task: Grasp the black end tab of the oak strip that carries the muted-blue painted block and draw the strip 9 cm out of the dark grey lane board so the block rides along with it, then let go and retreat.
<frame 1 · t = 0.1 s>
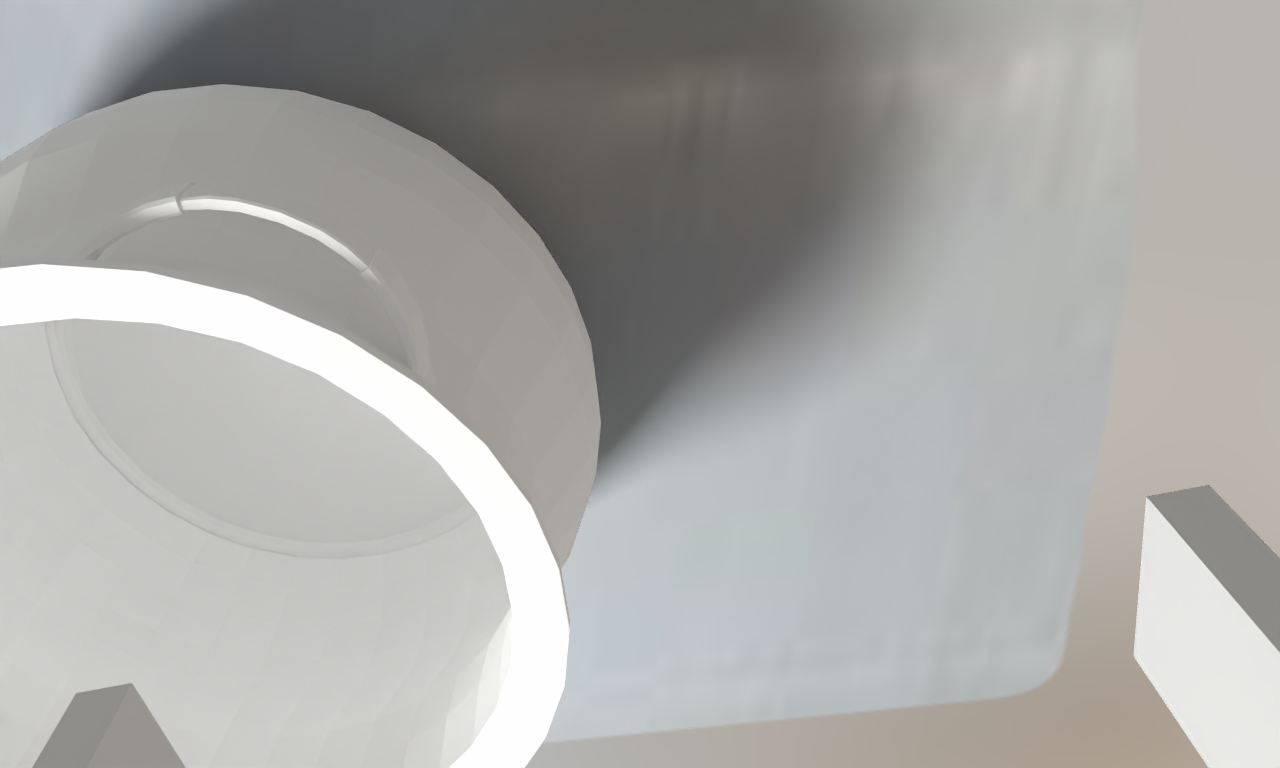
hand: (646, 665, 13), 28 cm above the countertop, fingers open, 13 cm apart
pot: (311, 354, 42), on the countertop
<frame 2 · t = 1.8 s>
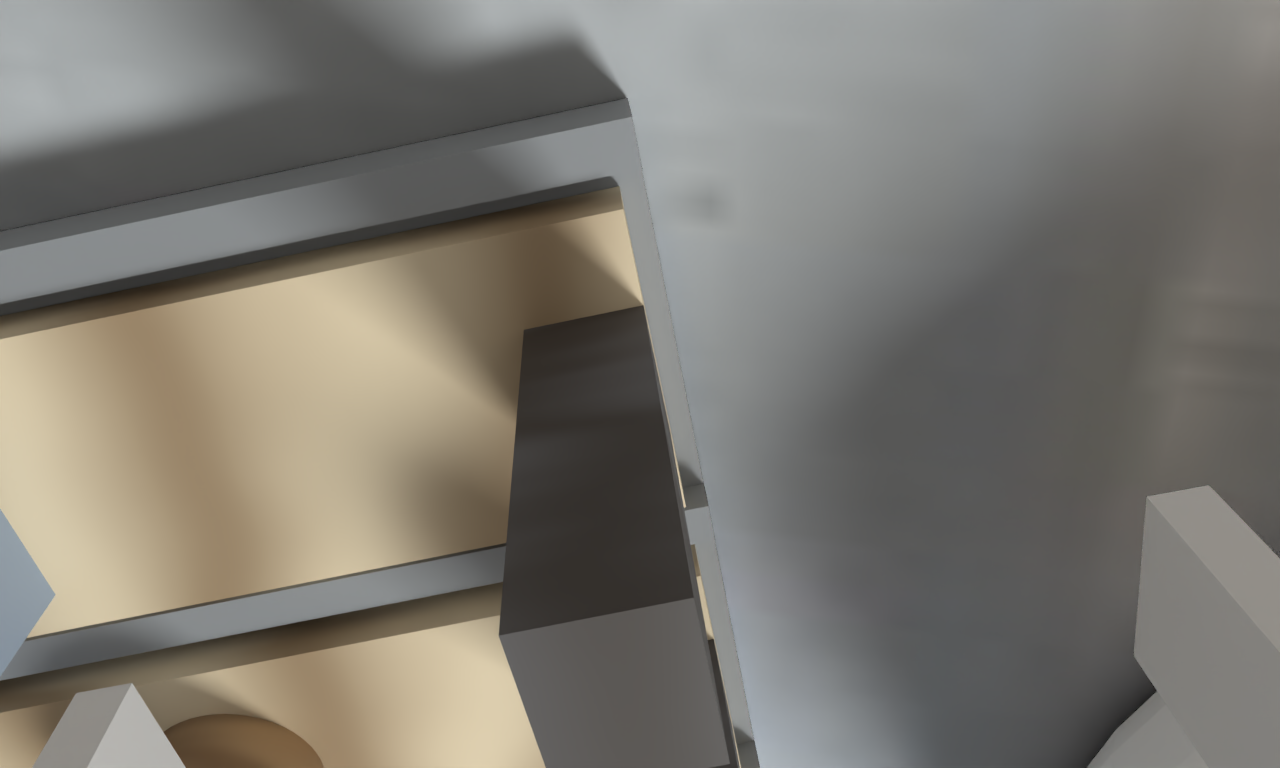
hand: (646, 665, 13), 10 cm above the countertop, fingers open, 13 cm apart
lane board: (267, 572, 24), on the countertop
strip B: (86, 585, 17), point 6 cm above the countertop, slide at 0.0 cm, touching blue block
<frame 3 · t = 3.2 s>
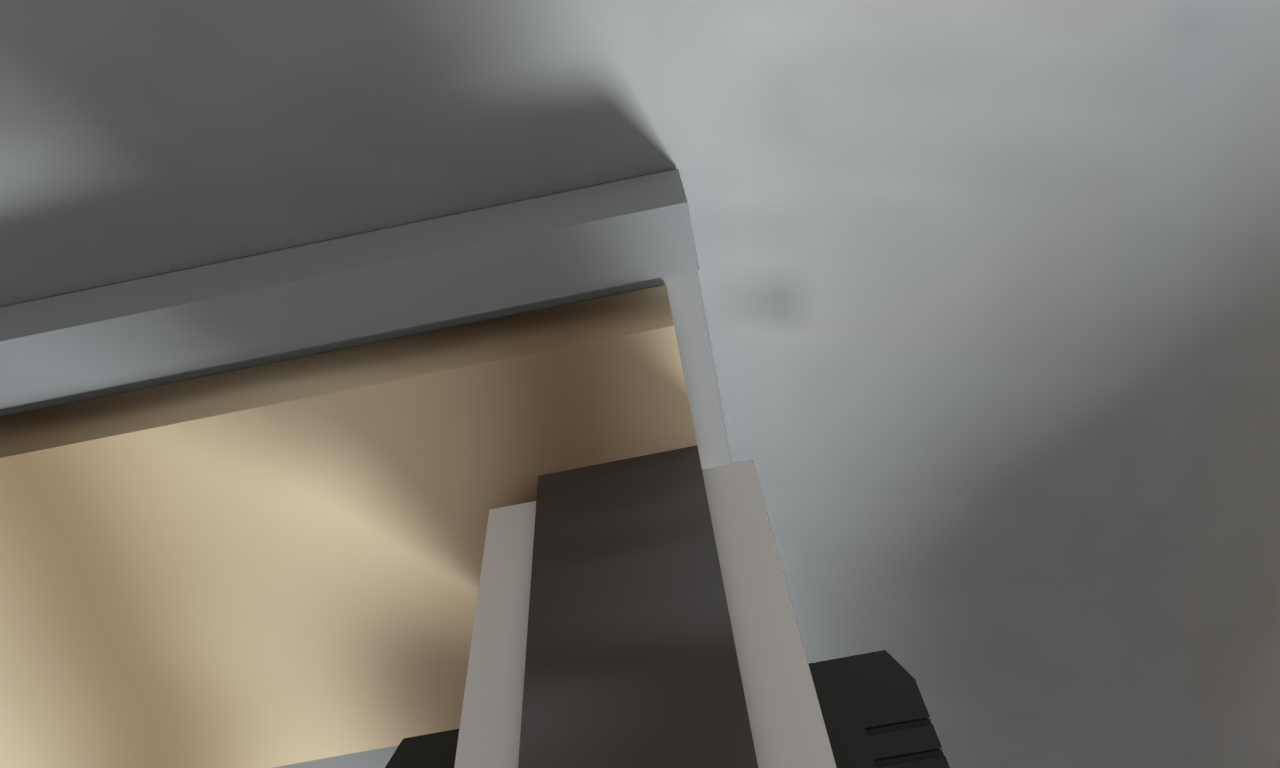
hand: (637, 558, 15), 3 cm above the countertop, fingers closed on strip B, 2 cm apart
lane board: (219, 733, 20), on the countertop
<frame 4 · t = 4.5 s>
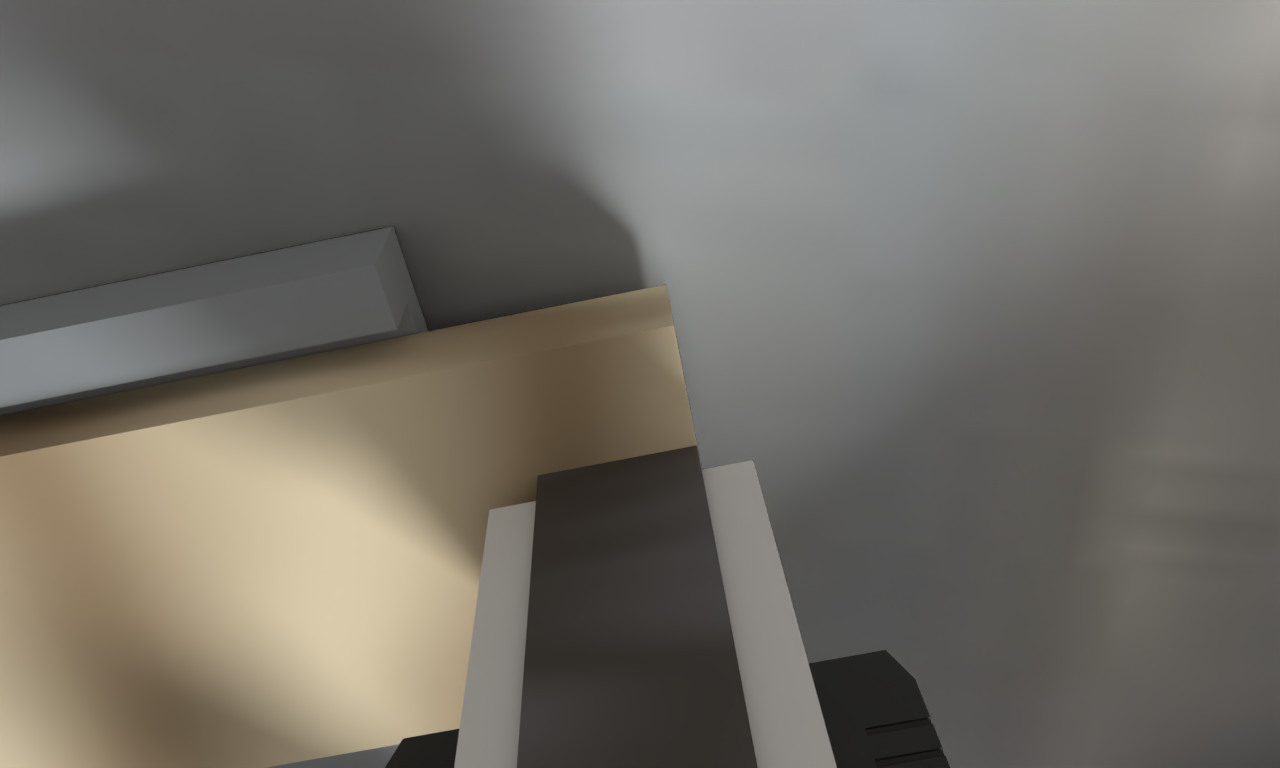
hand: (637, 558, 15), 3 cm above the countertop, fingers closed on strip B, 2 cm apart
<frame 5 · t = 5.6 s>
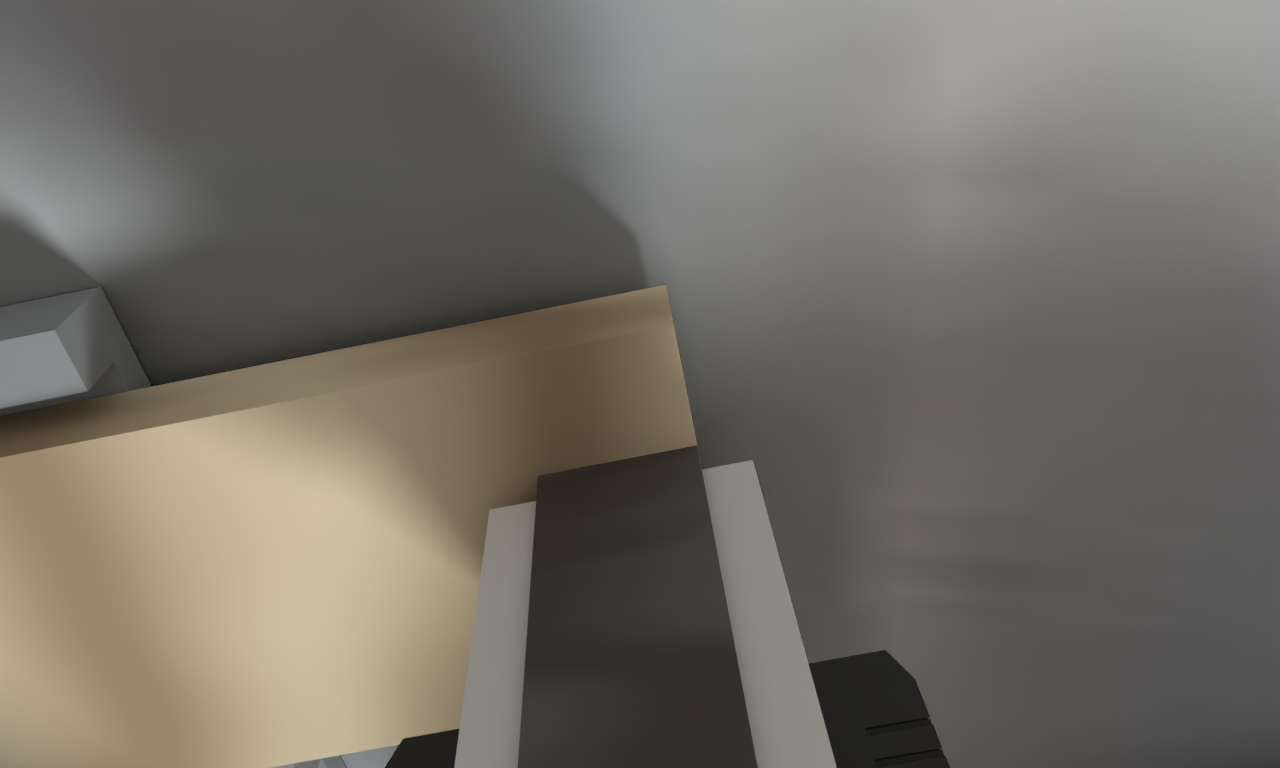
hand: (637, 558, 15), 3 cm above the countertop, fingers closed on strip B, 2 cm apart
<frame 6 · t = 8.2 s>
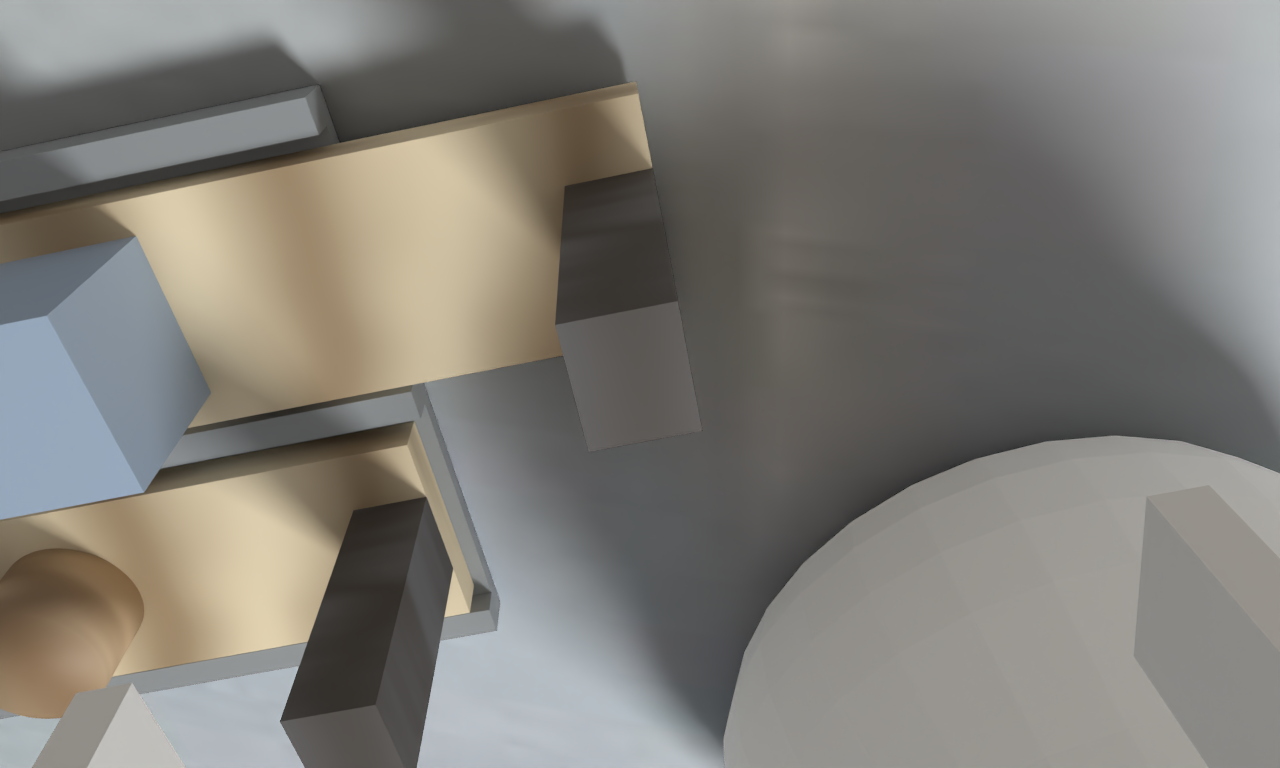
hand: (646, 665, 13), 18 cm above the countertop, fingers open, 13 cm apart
oak puck: (74, 600, 32), point 2 cm above the countertop, touching strip A
lane board: (96, 444, 32), on the countertop
blue block: (91, 334, 28), point 2 cm above the countertop, touching strip B
strip A: (83, 670, 29), point 6 cm above the countertop, slide at 0.0 cm, touching oak puck
strip B: (257, 352, 24), point 6 cm above the countertop, slide at 9.0 cm, touching blue block
pot: (1015, 652, 39), on the countertop
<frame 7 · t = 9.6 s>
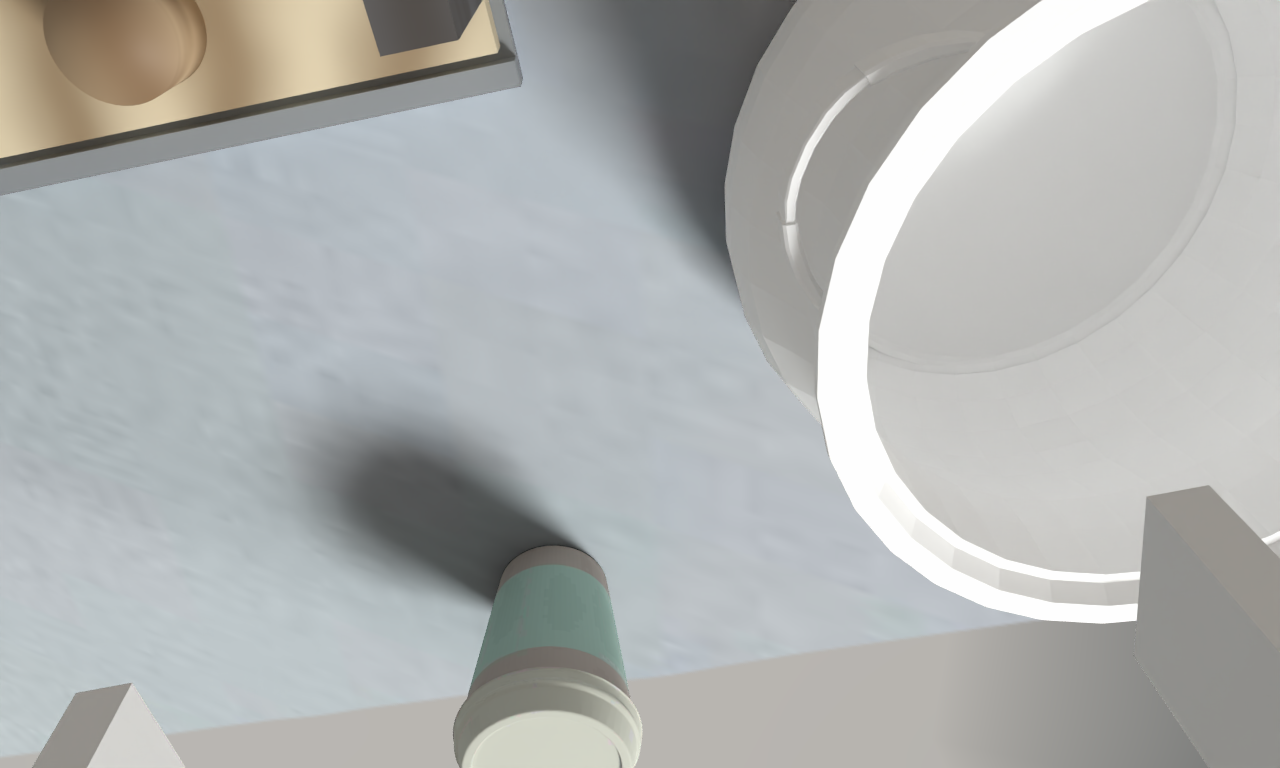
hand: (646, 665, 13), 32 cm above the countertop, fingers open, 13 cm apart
oak puck: (145, 26, 36), point 2 cm above the countertop, touching strip A
coffee cup: (554, 584, 53), on the countertop
strip A: (160, 32, 33), point 6 cm above the countertop, slide at 0.0 cm, touching oak puck
pot: (987, 159, 43), on the countertop
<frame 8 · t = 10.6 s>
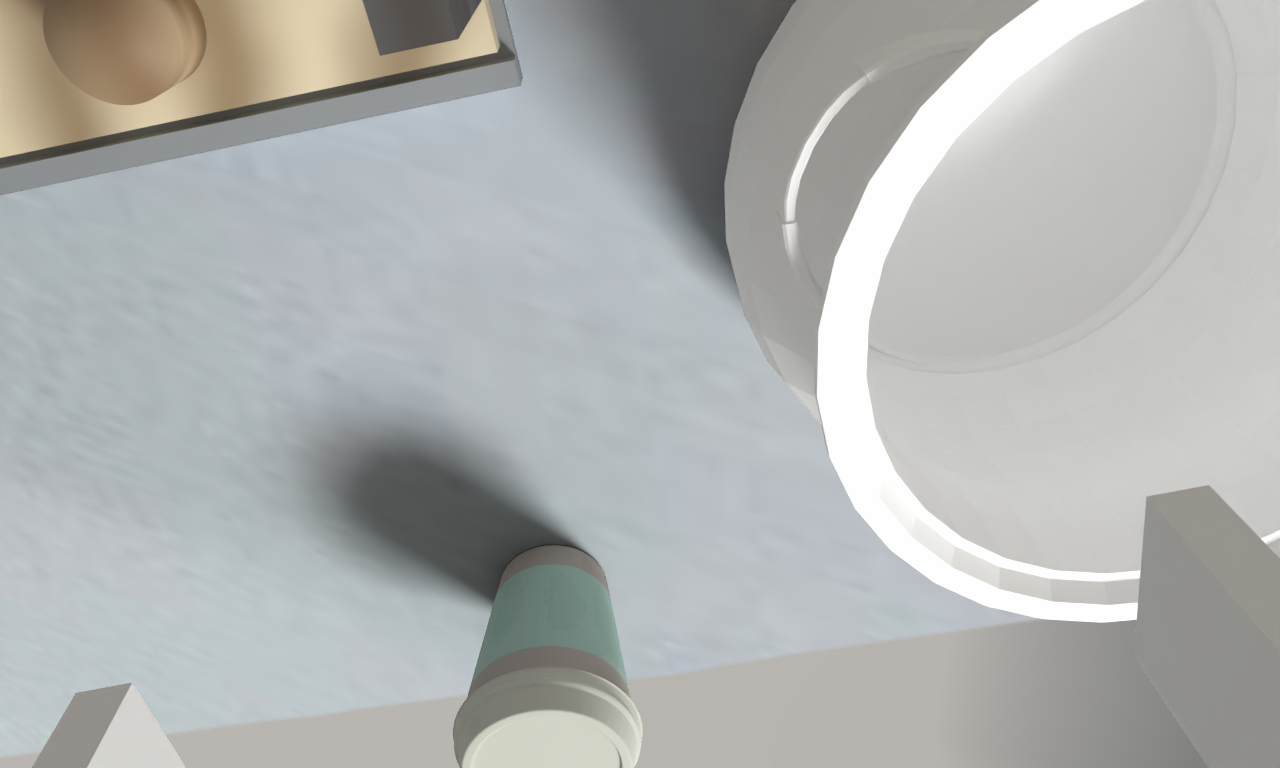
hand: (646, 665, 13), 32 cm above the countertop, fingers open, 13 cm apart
oak puck: (144, 26, 36), point 2 cm above the countertop, touching strip A
coffee cup: (554, 583, 53), on the countertop
strip A: (160, 31, 33), point 6 cm above the countertop, slide at 0.0 cm, touching oak puck
pot: (987, 158, 43), on the countertop
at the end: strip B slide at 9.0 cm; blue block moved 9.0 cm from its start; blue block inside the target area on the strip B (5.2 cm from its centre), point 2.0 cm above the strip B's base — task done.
